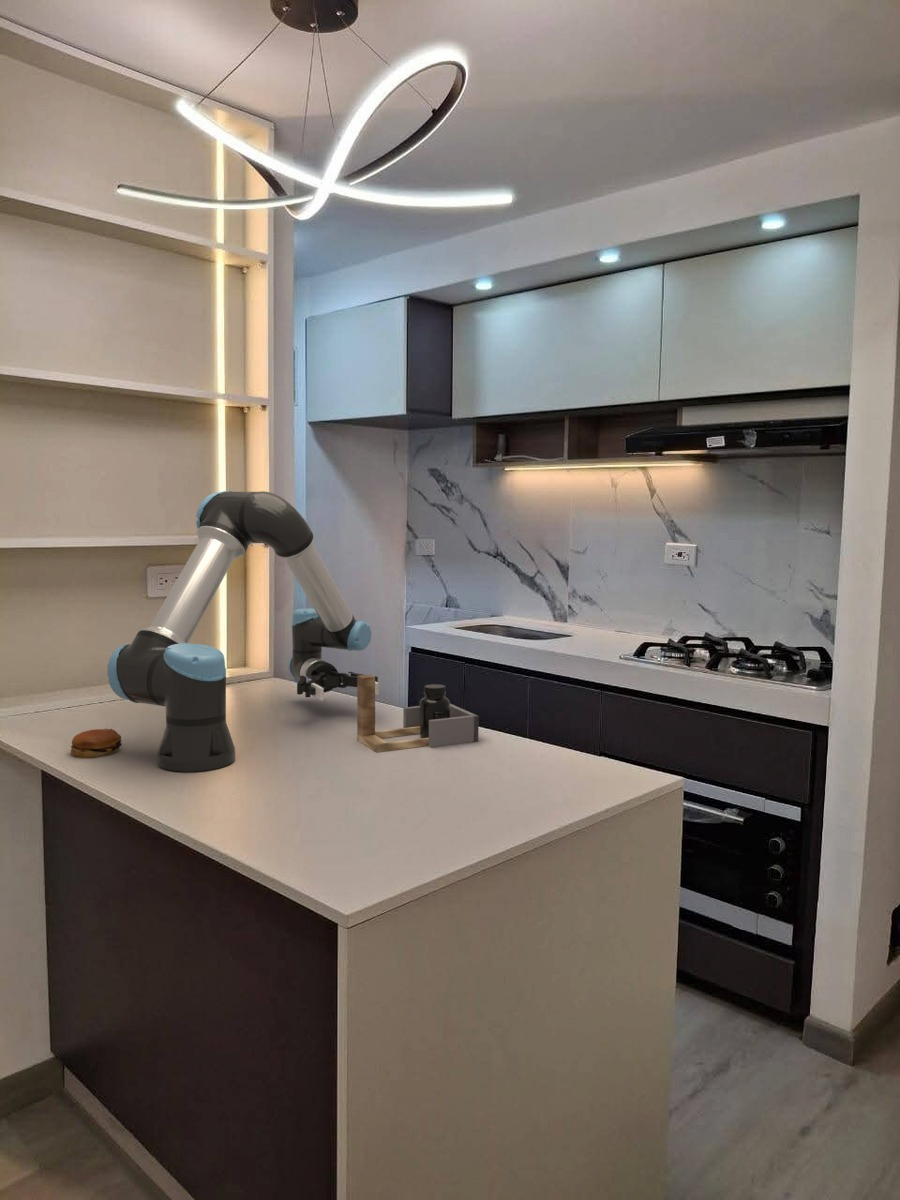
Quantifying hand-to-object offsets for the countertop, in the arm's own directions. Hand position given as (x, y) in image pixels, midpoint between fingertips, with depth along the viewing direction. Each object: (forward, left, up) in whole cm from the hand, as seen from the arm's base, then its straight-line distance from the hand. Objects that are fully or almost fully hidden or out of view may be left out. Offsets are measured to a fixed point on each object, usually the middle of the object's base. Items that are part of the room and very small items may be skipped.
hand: (350, 691), depth 204 cm
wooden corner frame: (-9, -14, -9) cm, 19 cm away
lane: (-6, -20, -9) cm, 23 cm away
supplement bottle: (-7, -19, -10) cm, 23 cm away
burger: (-15, +52, -10) cm, 55 cm away
